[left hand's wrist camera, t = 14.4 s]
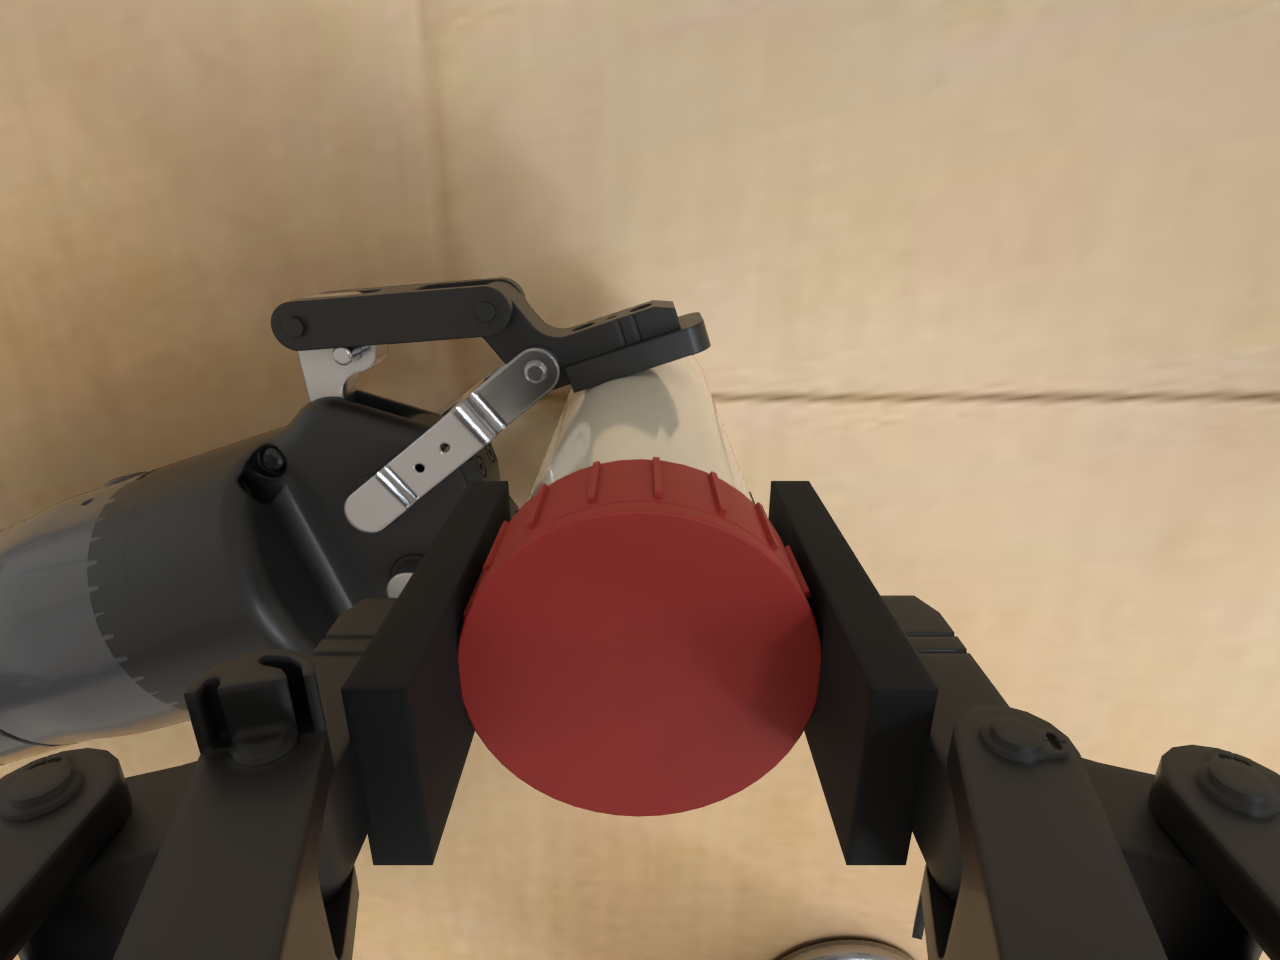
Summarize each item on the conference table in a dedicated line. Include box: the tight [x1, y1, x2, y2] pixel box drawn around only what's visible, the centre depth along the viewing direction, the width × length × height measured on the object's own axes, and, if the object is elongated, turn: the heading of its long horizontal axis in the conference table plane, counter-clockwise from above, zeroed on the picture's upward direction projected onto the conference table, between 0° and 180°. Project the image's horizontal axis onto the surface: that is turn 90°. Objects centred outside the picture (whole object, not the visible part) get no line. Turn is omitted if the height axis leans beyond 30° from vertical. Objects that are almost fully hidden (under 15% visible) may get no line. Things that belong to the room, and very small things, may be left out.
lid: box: [458, 457, 822, 816], centre depth 11 cm, size 5×6×2 cm
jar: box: [528, 355, 752, 501], centre depth 18 cm, size 5×5×16 cm
